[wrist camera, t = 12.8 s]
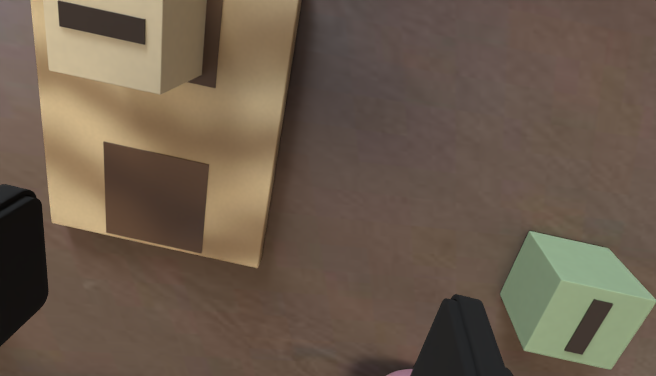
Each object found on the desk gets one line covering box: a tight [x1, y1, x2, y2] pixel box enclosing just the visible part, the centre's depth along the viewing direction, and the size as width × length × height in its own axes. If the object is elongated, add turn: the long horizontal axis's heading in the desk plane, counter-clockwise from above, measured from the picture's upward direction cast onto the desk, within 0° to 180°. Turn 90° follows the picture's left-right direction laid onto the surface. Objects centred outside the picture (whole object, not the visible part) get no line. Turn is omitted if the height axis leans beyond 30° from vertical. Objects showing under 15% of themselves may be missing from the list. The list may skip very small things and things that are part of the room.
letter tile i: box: [500, 231, 656, 370], centre depth 25 cm, size 5×5×5 cm
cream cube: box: [43, 0, 207, 95], centre depth 20 cm, size 5×5×5 cm
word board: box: [31, 0, 302, 268], centre depth 25 cm, size 18×14×1 cm
